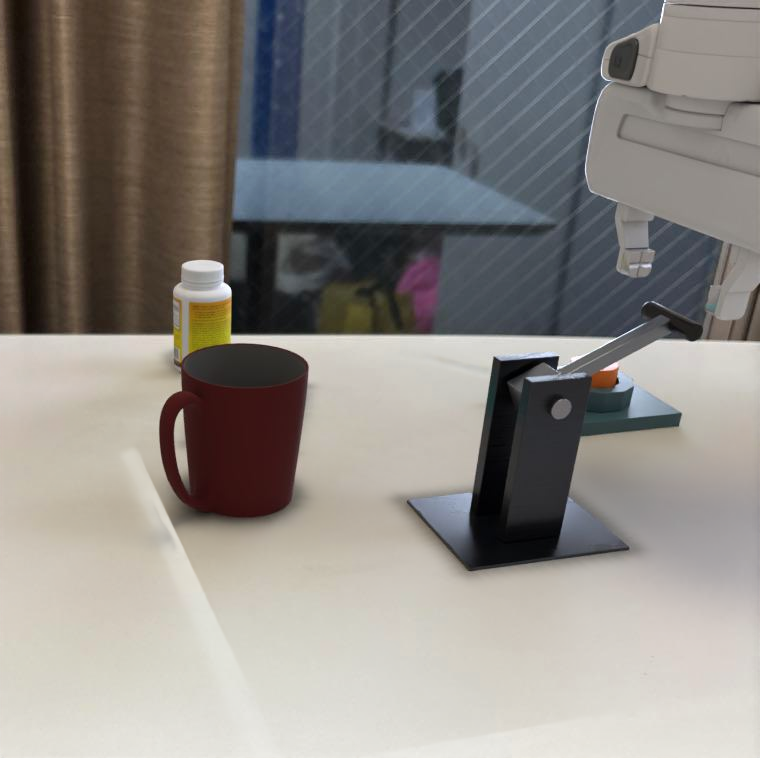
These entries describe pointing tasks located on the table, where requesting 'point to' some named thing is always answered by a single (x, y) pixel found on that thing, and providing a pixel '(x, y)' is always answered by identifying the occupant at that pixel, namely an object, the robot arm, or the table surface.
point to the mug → (237, 428)
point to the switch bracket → (523, 476)
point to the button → (603, 375)
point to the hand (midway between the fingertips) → (674, 294)
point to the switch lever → (618, 346)
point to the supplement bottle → (200, 309)
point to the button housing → (625, 409)
